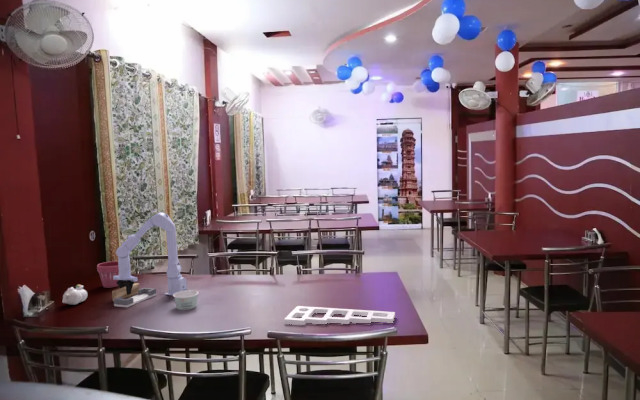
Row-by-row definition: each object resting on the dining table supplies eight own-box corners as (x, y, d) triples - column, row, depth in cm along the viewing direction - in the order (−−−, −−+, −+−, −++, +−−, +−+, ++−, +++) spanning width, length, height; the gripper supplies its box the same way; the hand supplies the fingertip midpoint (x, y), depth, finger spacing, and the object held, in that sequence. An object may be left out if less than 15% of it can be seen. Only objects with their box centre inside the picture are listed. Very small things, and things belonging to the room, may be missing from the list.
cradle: (156, 295, 249) (155, 288, 248) (126, 307, 229) (126, 300, 229) (144, 294, 252) (143, 287, 251) (114, 306, 232) (113, 299, 232)
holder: (395, 318, 205) (395, 312, 205) (390, 333, 188) (389, 326, 188) (297, 311, 218) (297, 305, 217) (284, 325, 200) (283, 319, 200)
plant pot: (130, 284, 273) (128, 262, 272) (108, 290, 261) (106, 267, 260) (115, 281, 280) (113, 260, 279) (93, 287, 269) (91, 265, 267)
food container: (176, 312, 220) (175, 298, 219) (171, 305, 230) (170, 292, 230) (202, 308, 225) (201, 294, 225) (196, 301, 236) (195, 288, 235)
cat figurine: (83, 281, 245) (63, 285, 231) (95, 289, 244) (75, 294, 229) (74, 296, 246) (54, 302, 231) (86, 304, 245) (66, 310, 230)
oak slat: (139, 292, 255) (139, 283, 254) (117, 301, 240) (116, 291, 239) (135, 292, 256) (134, 283, 255) (112, 300, 241) (112, 291, 240)
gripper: (108, 269, 245) (109, 294, 246) (129, 271, 240) (131, 297, 241) (118, 266, 252) (120, 291, 253) (139, 267, 246) (141, 293, 248)
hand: (126, 293), depth 248 cm, fingers closed on oak slat, 3 cm apart
